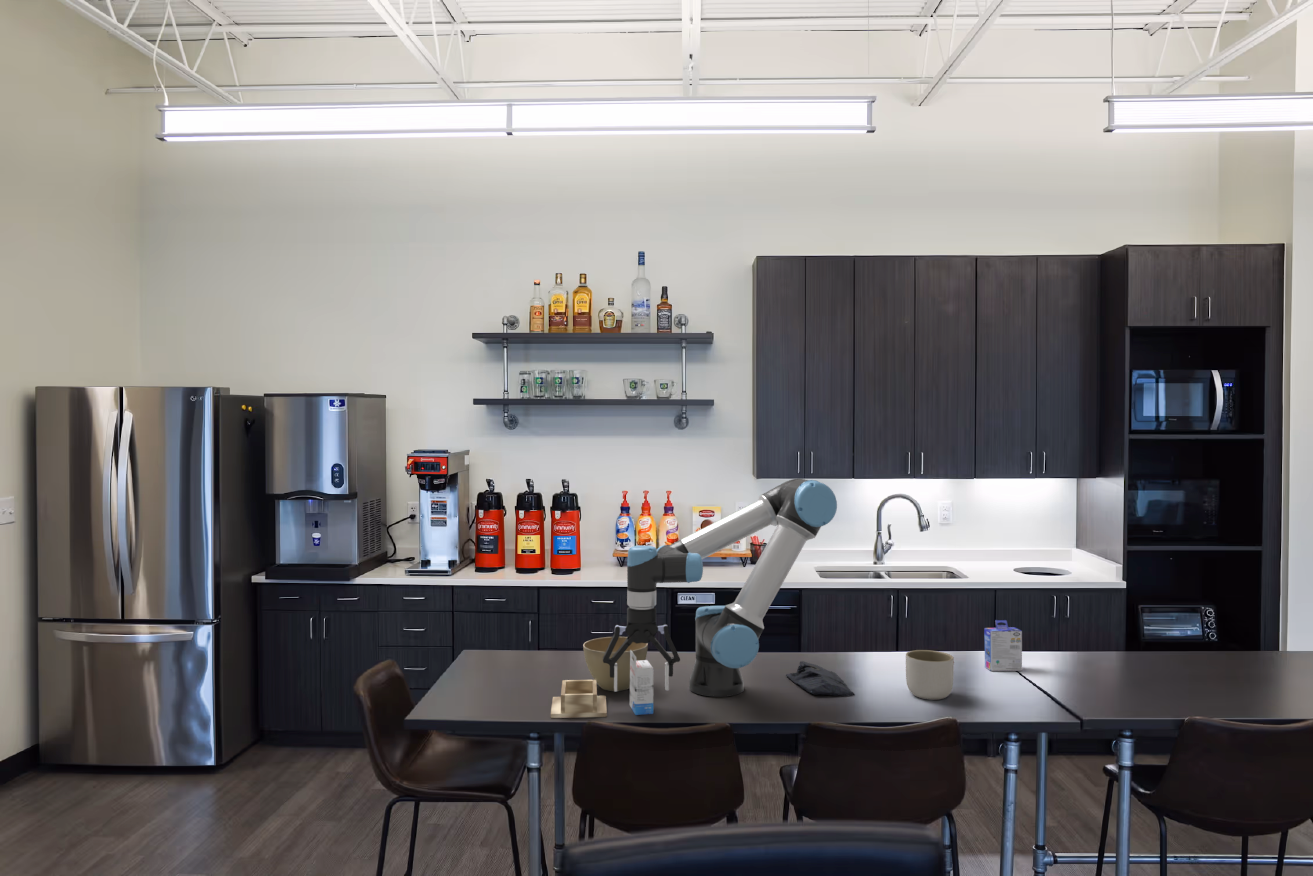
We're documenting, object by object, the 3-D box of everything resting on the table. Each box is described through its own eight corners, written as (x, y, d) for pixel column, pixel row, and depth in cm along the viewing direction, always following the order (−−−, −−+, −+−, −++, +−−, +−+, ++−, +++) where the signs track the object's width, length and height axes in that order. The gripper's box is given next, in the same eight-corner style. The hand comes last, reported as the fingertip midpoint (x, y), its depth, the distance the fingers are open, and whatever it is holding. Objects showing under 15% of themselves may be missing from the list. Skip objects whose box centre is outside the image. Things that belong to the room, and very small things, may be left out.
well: (605, 699, 228) (605, 678, 228) (606, 716, 214) (606, 694, 214) (552, 700, 226) (552, 680, 226) (550, 718, 213) (550, 696, 213)
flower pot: (640, 676, 250) (640, 634, 250) (653, 694, 232) (653, 650, 232) (579, 679, 246) (579, 637, 246) (587, 699, 228) (587, 653, 228)
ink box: (654, 714, 216) (654, 656, 216) (635, 715, 215) (635, 657, 215) (647, 704, 224) (647, 648, 224) (628, 705, 223) (629, 649, 223)
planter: (904, 699, 228) (904, 659, 228) (907, 687, 240) (907, 648, 240) (953, 705, 224) (953, 663, 224) (953, 691, 236) (954, 652, 236)
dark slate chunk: (803, 699, 230) (803, 682, 230) (783, 676, 252) (784, 660, 251) (858, 698, 231) (858, 680, 231) (834, 675, 253) (834, 659, 253)
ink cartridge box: (1014, 666, 261) (1015, 619, 261) (1023, 671, 256) (1023, 623, 256) (983, 666, 261) (983, 619, 261) (990, 671, 256) (991, 623, 256)
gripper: (687, 603, 224) (687, 684, 224) (593, 604, 222) (593, 686, 222) (691, 609, 217) (690, 693, 217) (593, 610, 215) (593, 694, 215)
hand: (641, 689), depth 219 cm, fingers open, 12 cm apart
